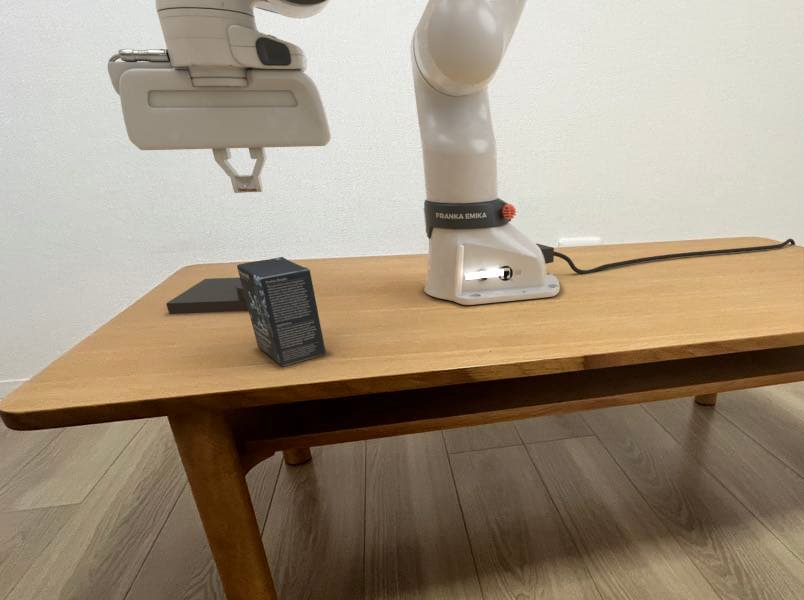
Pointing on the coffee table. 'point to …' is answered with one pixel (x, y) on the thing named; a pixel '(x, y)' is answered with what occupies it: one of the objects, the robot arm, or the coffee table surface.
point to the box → (282, 309)
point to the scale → (210, 297)
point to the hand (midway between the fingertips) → (249, 192)
